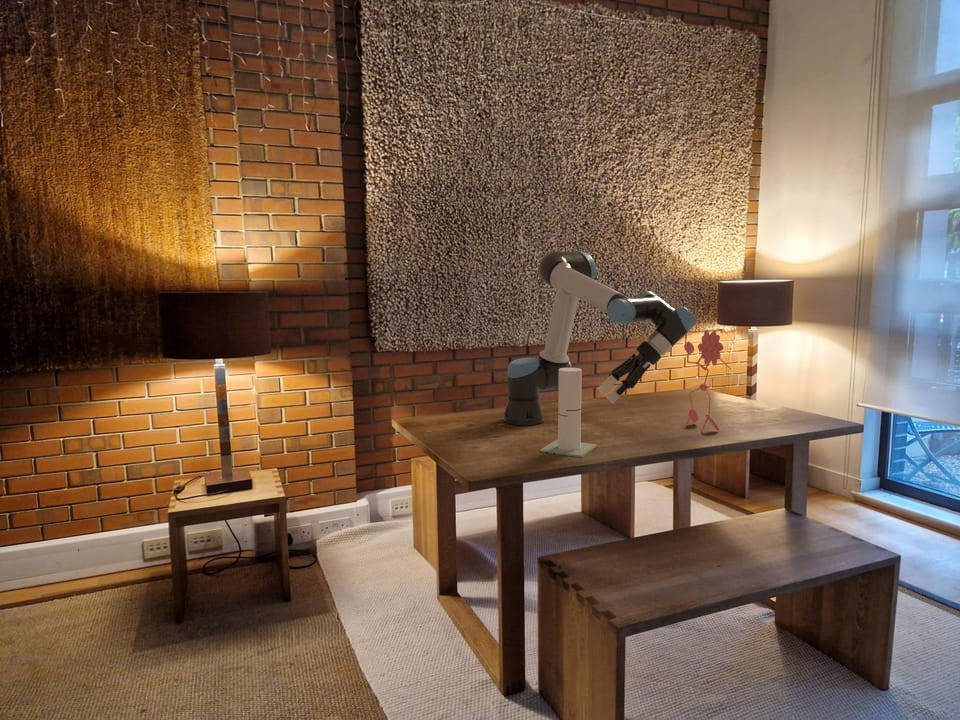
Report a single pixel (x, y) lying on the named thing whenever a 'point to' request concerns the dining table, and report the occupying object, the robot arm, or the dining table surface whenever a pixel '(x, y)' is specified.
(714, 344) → the figurine
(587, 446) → the rubber mat
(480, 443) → the dining table surface
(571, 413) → the cylindrical container
